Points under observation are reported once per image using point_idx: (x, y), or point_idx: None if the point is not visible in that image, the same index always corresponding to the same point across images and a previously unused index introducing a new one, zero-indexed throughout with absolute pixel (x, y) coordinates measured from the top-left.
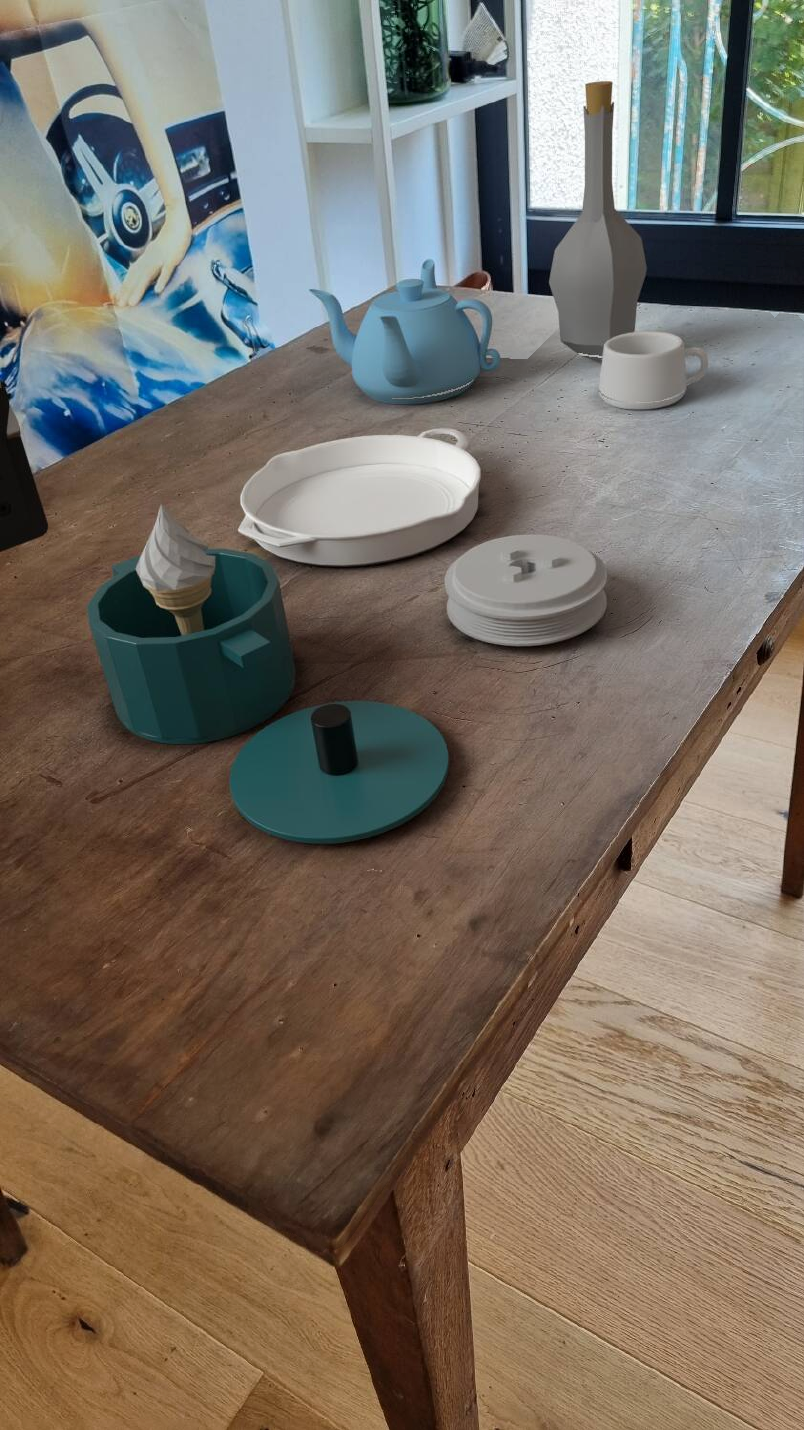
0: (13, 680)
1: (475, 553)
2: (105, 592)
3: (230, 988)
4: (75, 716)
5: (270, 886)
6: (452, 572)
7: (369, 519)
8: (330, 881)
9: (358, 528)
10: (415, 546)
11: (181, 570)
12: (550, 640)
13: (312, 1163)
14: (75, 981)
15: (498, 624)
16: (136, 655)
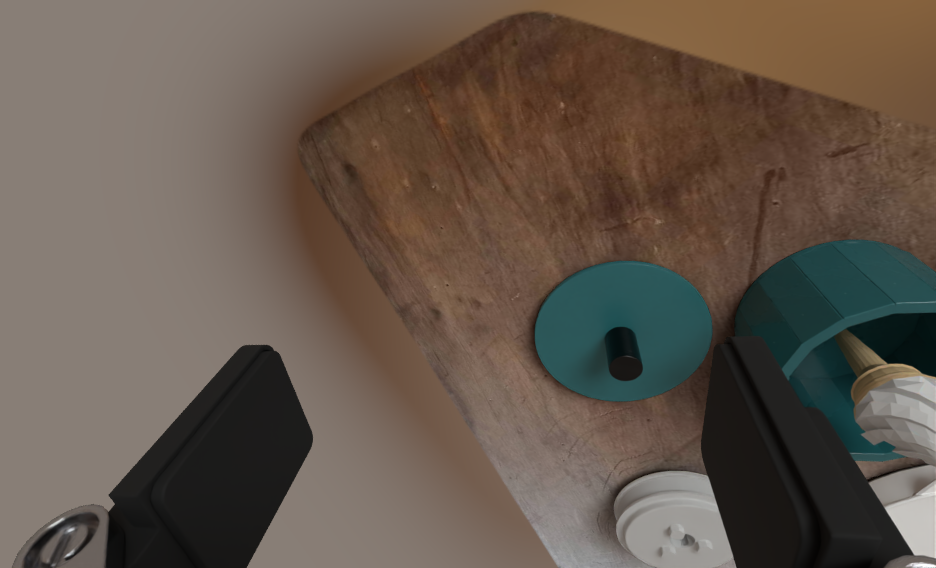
0: None
1: None
2: None
3: (480, 173)
4: (929, 208)
5: (551, 239)
6: None
7: (918, 530)
8: (526, 271)
9: (915, 518)
10: None
11: (874, 414)
12: (621, 492)
13: (330, 152)
14: (563, 76)
15: (654, 489)
16: (841, 307)
